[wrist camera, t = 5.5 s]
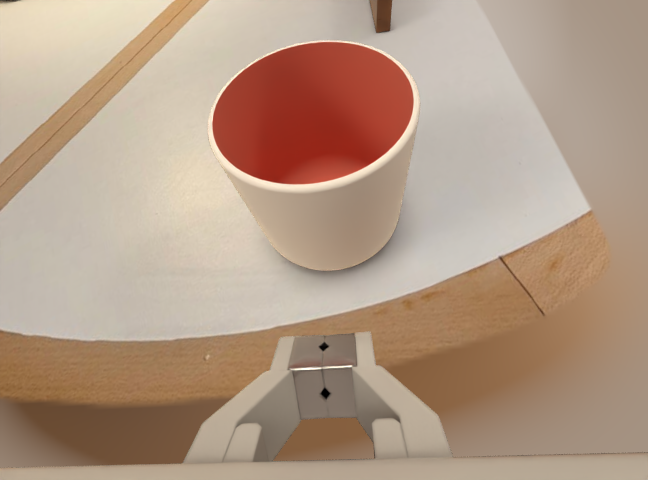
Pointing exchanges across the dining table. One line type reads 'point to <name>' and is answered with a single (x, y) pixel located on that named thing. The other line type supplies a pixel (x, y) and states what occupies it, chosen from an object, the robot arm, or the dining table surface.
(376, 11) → the corner
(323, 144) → the cup
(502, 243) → the dining table surface
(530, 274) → the dining table surface
